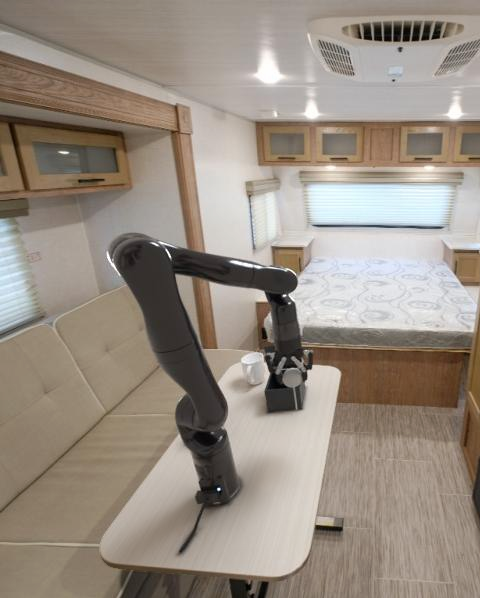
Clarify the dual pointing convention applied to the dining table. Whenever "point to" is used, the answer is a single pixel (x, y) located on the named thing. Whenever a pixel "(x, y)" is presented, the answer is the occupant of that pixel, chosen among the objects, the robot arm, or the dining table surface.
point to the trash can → (283, 395)
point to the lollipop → (292, 379)
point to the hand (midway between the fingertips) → (293, 381)
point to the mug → (253, 367)
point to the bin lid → (276, 362)
